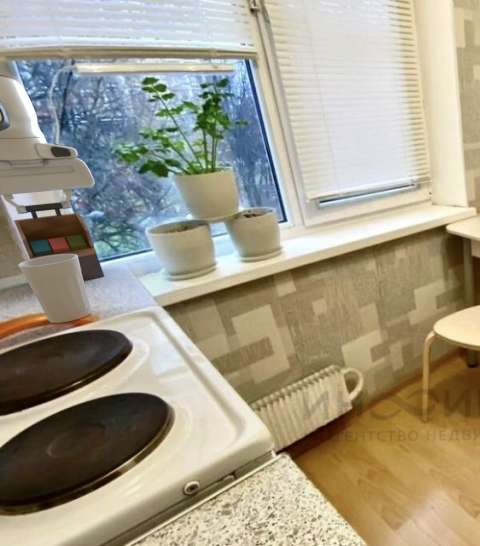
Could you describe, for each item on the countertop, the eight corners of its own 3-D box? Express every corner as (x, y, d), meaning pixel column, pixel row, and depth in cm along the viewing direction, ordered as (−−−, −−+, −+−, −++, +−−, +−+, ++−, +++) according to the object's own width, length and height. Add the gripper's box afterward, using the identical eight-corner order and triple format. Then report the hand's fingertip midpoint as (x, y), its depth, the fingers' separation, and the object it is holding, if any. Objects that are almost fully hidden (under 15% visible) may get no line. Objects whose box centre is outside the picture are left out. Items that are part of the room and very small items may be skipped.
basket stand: (42, 288, 99) (32, 265, 97) (38, 280, 105) (28, 257, 103) (104, 276, 107) (96, 254, 105) (97, 268, 113) (89, 247, 111)
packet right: (72, 250, 103) (70, 246, 103) (66, 240, 105) (65, 236, 105) (87, 248, 105) (86, 244, 105) (82, 238, 107) (80, 234, 107)
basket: (32, 265, 97) (17, 228, 92) (22, 242, 102) (7, 206, 96) (96, 254, 105) (86, 219, 100) (84, 233, 110) (74, 199, 105)
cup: (105, 311, 87) (85, 256, 83) (53, 327, 80) (29, 268, 76) (86, 305, 90) (66, 252, 86) (35, 320, 83) (10, 263, 79)
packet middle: (54, 253, 101) (52, 249, 100) (49, 243, 103) (47, 239, 103) (70, 250, 103) (69, 246, 102) (65, 240, 105) (63, 236, 105)
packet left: (35, 256, 99) (33, 252, 98) (30, 245, 101) (29, 241, 100) (52, 253, 101) (51, 249, 100) (47, 243, 103) (45, 239, 102)
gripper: (-52, 154, 86) (-21, 220, 91) (84, 149, 101) (104, 205, 106) (-51, 153, 90) (-22, 216, 95) (80, 148, 105) (99, 202, 110)
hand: (45, 210), depth 101 cm, fingers closed on basket, 6 cm apart
